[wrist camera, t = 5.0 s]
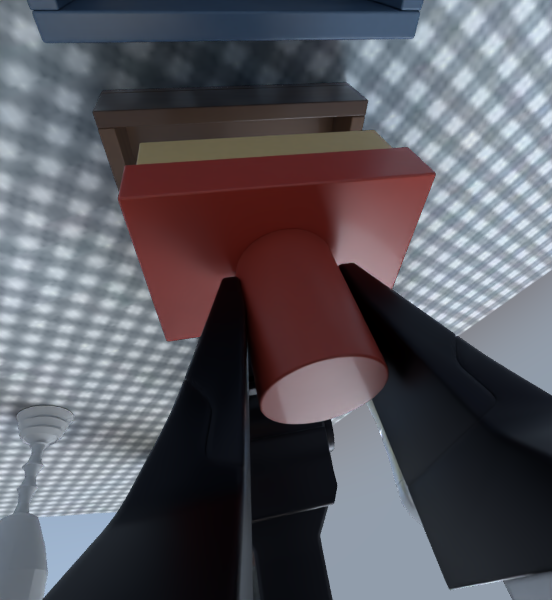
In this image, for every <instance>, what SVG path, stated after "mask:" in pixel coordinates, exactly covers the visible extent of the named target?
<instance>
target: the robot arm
mask: <svg viewBox="0 0 552 600" xmlns="http://www.w3.org/2000/svg"><path fill="white" fill-rule="evenodd" d="M338 267H339V269H340V271H341V273H342V275H343V277H344V279H345V281H346V283H347V285H348V287H349V289H350V291H351V293H352V295H353V297H354V299H355V301H356V303H357V305H358V307H359V309H360V311H361V314H362V316H363V318H364V320H365V322H366V324H367V326H368V328H369V330H370V332H371V334H372V336H373V338H374V340H375V342H376V344H377V346H378V348H379V350H380V352H381V354H382V356H383V358H384V360H385V362H386V364H387V367H388V371H389V376H388V380H387V382H386V384H385V386H384V387H383V389H382V390H381V391H380V392H379V393H378V394H377V395H376V396H375V397H374V398H372V401H373V404H374V406H375V409H376V411H377V414H378V416H379V419H380V421H381V424H382V426H383V428H384V431H385V433H386V436H387V438H388V441H389V443H390V446H391V448H392V451H393V453H394V455H395V458H396V460H397V463H398V465H399V468H400V470H401V473H402V475H403V478H404V480H405V482H406V485H407V486H408V490H409V493H410V495H411V498H412V500H413V503H414V505H415V507H416V510H417V512H418V515H419V517H420V520H421V522H422V525H423V527H424V530H425V532H426V534H427V537H428V539H429V542H430V544H431V547H432V549H433V552H434V554H435V557H436V559H437V561H438V564H439V566H440V569H441V571H442V574H443V576H444V579H445V581H446V583H447V585H448V587H449V589H450V590H454V589H460V588H465V587H470V586H476V585H481V584H486V583H491V582H498V581H503V582H504V584H505V586H506V588H507V590H508V592H509V594H510V596H511V598H512V600H552V395H550V394H548V393H547V392H545V391H543V390H542V389H540V388H538V387H537V386H535V385H533V384H532V383H530V382H528V381H527V380H525V379H523V378H522V377H520V376H518V375H517V374H515V373H513V372H512V371H510V370H508V369H507V368H505V367H504V366H502V365H500V364H499V363H497V362H496V361H494V360H492V359H491V358H489V357H488V356H486V355H485V354H483V353H482V352H480V351H479V350H477V349H476V348H474V347H473V346H471V345H470V344H469V343H467V342H466V341H464V340H463V339H462V338H460V337H459V336H455V334H454V333H453V332H451V331H450V330H449V329H447V328H446V327H444V326H443V325H442V324H440V323H439V322H437V321H436V320H434V319H433V318H432V317H430V316H429V315H427V314H426V313H425V312H423V311H422V310H420V309H419V308H417V307H416V306H415V305H413V304H412V303H410V302H409V301H407V300H406V299H405V298H403V297H402V296H400V295H399V294H398V293H396V292H395V291H393V290H392V289H390V288H389V287H388V286H386V285H385V284H383V283H382V282H381V281H379V280H378V279H376V278H375V277H373V276H372V275H371V274H369V273H368V272H366V271H365V270H364V269H362V268H361V267H359V266H358V265H356V264H355V263H344V264H340V265H339V266H338ZM333 450H334V433H333V427H332V422H331V419H328V420H325V421H320V422H314V423H307V424H285V423H279V422H276V421H273V420H271V419H269V418H267V417H266V416H265V415H264V414H263V413H262V412H261V410H260V408H259V403H258V397H257V392H256V386H255V381H254V375H253V370H252V364H251V359H250V353H249V347H248V342H247V333H246V316H245V306H244V301H243V296H242V292H241V287H240V283H239V278H238V277H237V276H234V277H225V278H223V279H222V281H221V284H220V286H219V289H218V291H217V294H216V297H215V299H214V302H213V305H212V307H211V310H210V313H209V315H208V318H207V321H206V323H205V326H204V328H203V331H202V334H201V336H200V339H199V342H198V344H197V347H196V350H195V352H194V355H193V358H192V360H191V363H190V365H189V368H188V371H187V373H186V376H185V380H184V381H183V383H182V386H181V389H180V391H179V394H178V396H177V399H176V401H175V404H174V406H173V408H172V411H171V413H170V415H169V417H168V419H167V421H166V423H165V425H164V427H163V429H162V431H161V433H160V435H159V437H158V439H157V441H156V443H155V445H154V447H153V449H152V450H151V452H150V454H149V456H148V458H147V460H146V462H145V464H144V466H143V467H142V469H141V471H140V473H139V475H138V477H137V479H136V481H135V482H134V484H133V486H132V488H131V490H130V492H129V493H128V495H127V497H126V499H125V501H124V502H123V504H122V505H121V507H120V509H119V510H118V512H117V513H116V515H115V516H114V518H113V519H112V520H111V522H110V523H109V524H108V525H107V527H106V528H105V529H104V530H103V532H102V533H101V534H100V535H99V536H98V537H97V539H95V541H94V542H93V543H92V544H91V545H90V546H89V547H88V548H87V550H86V551H85V552H84V553H83V554H82V555H81V556H80V558H79V559H78V560H77V561H76V562H75V563H74V564H73V565H72V567H71V568H70V569H69V570H68V571H67V572H66V573H65V574H64V576H63V577H62V578H61V579H60V580H59V581H58V582H57V584H56V585H55V586H54V587H53V588H52V589H51V590H50V592H49V593H48V594H47V595H46V596H45V597H44V598H43V599H42V600H253V568H252V550H253V552H254V558H255V566H256V573H257V581H258V589H259V596H260V600H332V595H331V590H330V585H329V580H328V575H327V570H326V565H325V560H324V555H323V550H322V544H321V538H320V534H321V530H322V527H323V523H324V520H325V516H326V512H327V508H328V506H329V505H333V504H334V501H335V496H336V491H337V482H336V478H335V474H334V471H333V466H332V460H331V455H330V452H332V451H333Z"/></svg>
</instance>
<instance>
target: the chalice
mask: <svg viewBox="0 0 552 600" xmlns="http://www.w3.org/2000/svg"><path fill="white" fill-rule="evenodd" d="M16 417H17V421H18V424H19V425H18V429H19V431H20V433H19V436H20V438H21V439H22V441H23V442H24V443H25V444H28V445H29V446H30V447H31V448H32V453H31V456H30V458H29V460H28V462H27V463H26V464H25V465H23V466H22V469H23V470H24V471H25V479H24V481H23V482H22V484H21V486H19V487H18V488H17V491H18V493H19V496H18V505H17V507H16V509H15V511H14V513H13V514H12V515H9V516H7V517H4V518H3V519H1V520H0V600H42V599H43V596H44V591H45V586H46V581H47V576H48V570H47V560H46V550H45V543H44V540H43V535H42V531H41V527H40V523H39V519H38V517H37V516H35V515H33V514H30V513H29V503H30V501H31V499H32V496H33V494H34V493H35V492H36V491H37V489H38V487H37V485H36V477H37V475H38V473H39V471H41V470H42V469H43V468H44V465H43V464H42V463H41V460H42V453H43V451H44V449H45V448H47V447H48V445H51V444H54V443H56V442H57V441H58V440H59V439H61V438H62V436H63V433H64V432H65V431H66V430H67V429H68V426H69V425H70V424H71V423H72V422H73V420H74V415H73V414H72V412H70V411H69V410H67V409H64V408H61V407H56V406H33V407H29V408H26V409H24V410H22V411H20V412H19V413H18V414H17V416H16Z"/></svg>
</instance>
